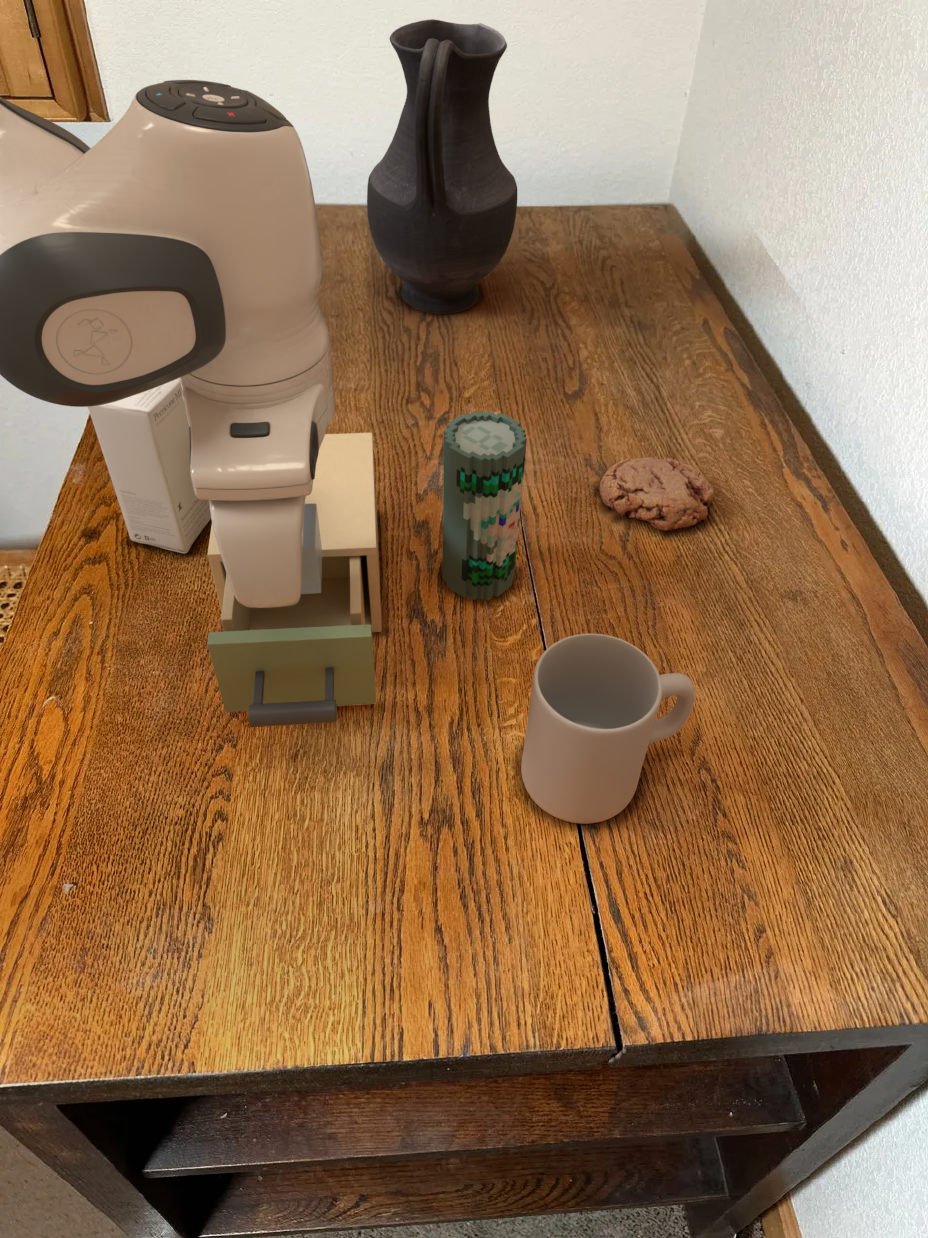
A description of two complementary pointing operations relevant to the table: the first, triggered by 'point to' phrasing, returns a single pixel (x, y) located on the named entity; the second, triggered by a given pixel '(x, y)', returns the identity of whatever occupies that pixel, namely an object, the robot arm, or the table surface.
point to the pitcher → (443, 169)
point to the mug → (595, 725)
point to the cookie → (657, 492)
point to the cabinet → (339, 513)
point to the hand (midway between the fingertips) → (286, 556)
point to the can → (481, 502)
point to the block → (311, 551)
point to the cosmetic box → (152, 466)
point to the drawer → (298, 652)
